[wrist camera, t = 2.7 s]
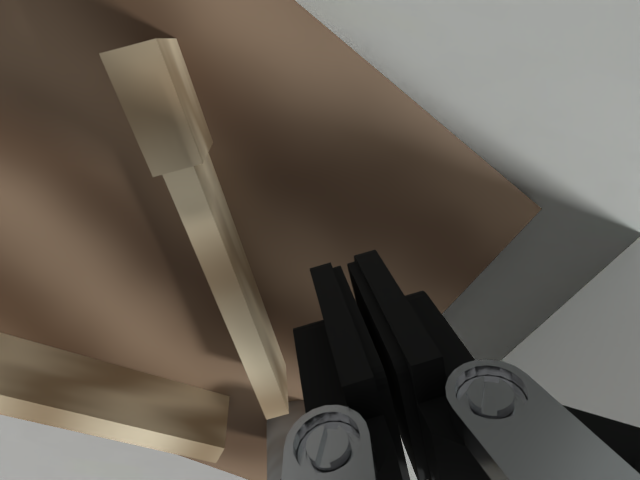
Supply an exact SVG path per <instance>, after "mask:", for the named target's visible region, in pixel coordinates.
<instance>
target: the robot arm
mask: <svg viewBox="0 0 640 480" xmlns="http://www.w3.org/2000/svg"><path fill="white" fill-rule="evenodd" d="M347 267H348V271H349V275H350V279H351V283H352V288H353V292H354V296H355V298H354V296H353V294H352V291H351V289H350V286H349V284H348V282H347V279H346V277H345V275H344V272H343V270H342V267H341V266H337V267H334V268H333V267H332V265H331V262H330V263H326V264H323V265H320V266H316V267H313V268H309V269H310V273H311V276H312V280H313V284H314V287H315V291H316V294H317V298H318V302H319V305H320V309H321V313H322V316H323V320H320V321H317V322H314V323H310V324H307V325H303V326H300V327H297V328H293V335H294V342H295V348H296V355H297V361H298V368H299V374H300V380H301V387H302V393H303V400H304V406H305V413H306V414H304V415H302V416H301V417H300V418H299V419H298V420H297V421H296V422H295V423H294V424H293V426H292V427H291V429H290V431H289V433H288V434H287V437H286V441H285V445H284V452H283V465H282V477H281V479H280V480H410V477H409V473H408V468H407V464H406V460H405V455H404V451H403V446H402V442H401V438H402V441H403V444H404V446H405V449H406V451H407V454H408V456H409V459H410V461H411V464H412V467H413V469H414V472H415V474H416V477H417V479H418V480H640V428H639V427H636V426H633V425H629V424H626V423H622V422H619V421H616V420H612V419H609V418H605V417H602V416H599V415H595V414H592V413H588V412H585V411H581V410H578V409H575V408H571V407H568V406H564V405H561V404H560V403H559V402H558V401H557V400H556V399H555V398H554V397H552V396H551V395H550V394H549V393H548V392H547V391H546V390H545V389H543V388H542V387H541V386H540V385H539V384H538V383H537V382H536V381H534V380H533V379H532V378H531V377H530V376H529V375H528V374H527V373H525V372H524V371H522V370H521V369H519V368H518V367H516V366H514V365H511V364H509V363H506V362H504V361H498V360H492V359H483V360H474V358H473V357H472V356H471V354H470V353H469V351H468V350H467V349H466V347H465V346H464V344H463V343H462V342H461V340H460V339H459V338H458V336H457V335H456V333H455V332H454V331H453V329H452V328H451V326H450V325H449V324H448V322H447V321H446V320H445V318H444V317H443V315H442V314H441V313H440V311H439V310H438V308H437V307H436V306H435V304H434V303H433V302H432V300H431V299H430V297H429V296H428V295H427V294H426V292H425V291H419V292H416V293H412V294H409V295H404V294H403V292H402V291H401V289H400V287H399V286H398V284H397V283H396V281H395V279H394V278H393V276H392V275H391V273H390V271H389V270H388V268H387V267H386V265H385V264H384V262H383V260H382V259H381V257H380V256H379V254H378V252H377V251H376V250H371V251H368V252H365V253H361V254H358V255H354V262H351V263H347ZM355 300H356V301H355ZM400 436H401V437H400Z"/></svg>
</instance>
